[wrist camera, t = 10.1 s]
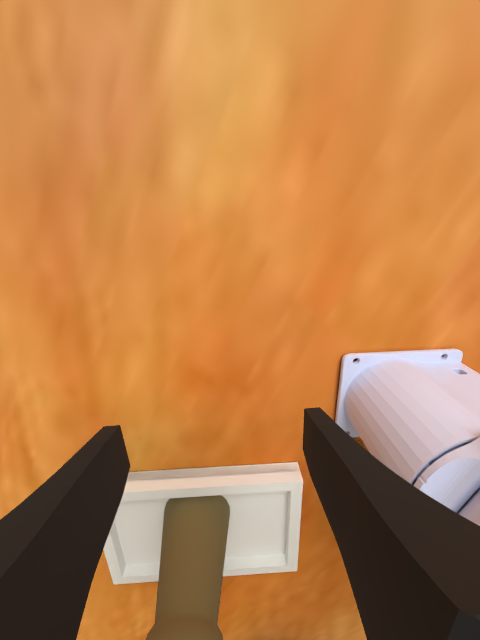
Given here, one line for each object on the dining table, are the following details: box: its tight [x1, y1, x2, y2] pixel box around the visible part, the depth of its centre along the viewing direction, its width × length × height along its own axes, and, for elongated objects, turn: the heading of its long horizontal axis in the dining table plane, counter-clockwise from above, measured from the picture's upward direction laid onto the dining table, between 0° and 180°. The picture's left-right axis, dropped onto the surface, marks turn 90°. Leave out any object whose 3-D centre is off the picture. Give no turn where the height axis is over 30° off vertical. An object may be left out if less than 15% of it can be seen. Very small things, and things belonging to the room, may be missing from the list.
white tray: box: [103, 462, 303, 584], centre depth 26 cm, size 18×12×2 cm, turn 92°
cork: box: [146, 495, 230, 640], centre depth 20 cm, size 6×6×11 cm
